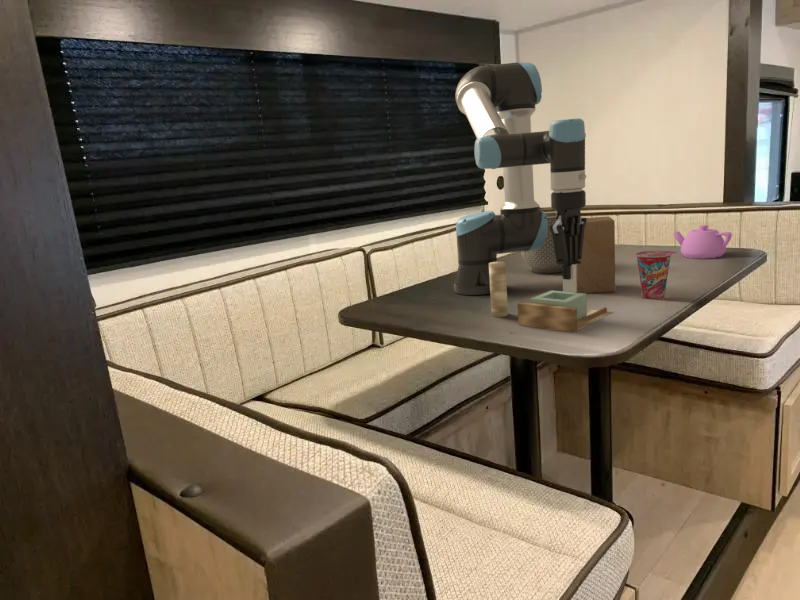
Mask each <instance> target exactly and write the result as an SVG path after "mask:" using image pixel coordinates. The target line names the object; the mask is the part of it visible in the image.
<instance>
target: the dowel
mask: <svg viewBox="0 0 800 600" xmlns="http://www.w3.org/2000/svg"><path fill="white" fill-rule="evenodd" d="M506 267H507V266H506V261H497V262H491V263H489V277H490V309H491V316H492V317H495V318H503V317H506V316H508V315H509V310H508V288H507V286H508V285H507V271H506V269H507V268H506Z"/></svg>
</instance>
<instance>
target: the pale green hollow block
mask: <svg viewBox="0 0 800 600" xmlns="http://www.w3.org/2000/svg"><path fill="white" fill-rule="evenodd" d="M587 299H588V297H587V293H578V292H575V293H574V292H563V290H562V291H561V290H552V289H551V290H549V291H547V292H543V293H541V294H539V295H536V296H534V297H532V298H530V303H535V304H545V305H554V306H563V307H572V308H577V321H578V320H580V319H582V318H584V317H586V316H587V309H588V308H587V307H588V305H587V302H588V301H587Z"/></svg>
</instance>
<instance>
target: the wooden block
mask: <svg viewBox="0 0 800 600" xmlns="http://www.w3.org/2000/svg"><path fill="white" fill-rule="evenodd" d="M585 218H586V219H587V221H586V225H585V229H584V239H583V249H582V258H581V259H580V260H578V261H581V263H580V264H576V282H577V292H576V293H586V294H600V293H614V292H615V291H616V264H615V263H616V249H615V248H616V247H615V246H616V239H615V232H616V231H615V230H616V229H615V226H616V225H615V220H614V219H613V218H612V217H610V216H596V217H594V216H593V217H585Z"/></svg>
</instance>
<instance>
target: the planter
mask: <svg viewBox="0 0 800 600" xmlns="http://www.w3.org/2000/svg"><path fill="white" fill-rule="evenodd" d="M544 212H545V214H546V216H547V224H548V225H547V235H546V239H545V242H544V244H543V246H542V247H541V248H540V249H538V250H532V251H528V252H525V251H523V252H520V254H521V257H522V259H523V261H524V263H525V264H526V265H528V267H530V268H531V269H532V271H533V272H534V273H537V274H555V273H561V272H563V266H562V265H558V264H557V262H556V255H555V249H554V243H553V236H552V233H551V230H550V225H554V224H555V223H556V214H557V211H544Z"/></svg>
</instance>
